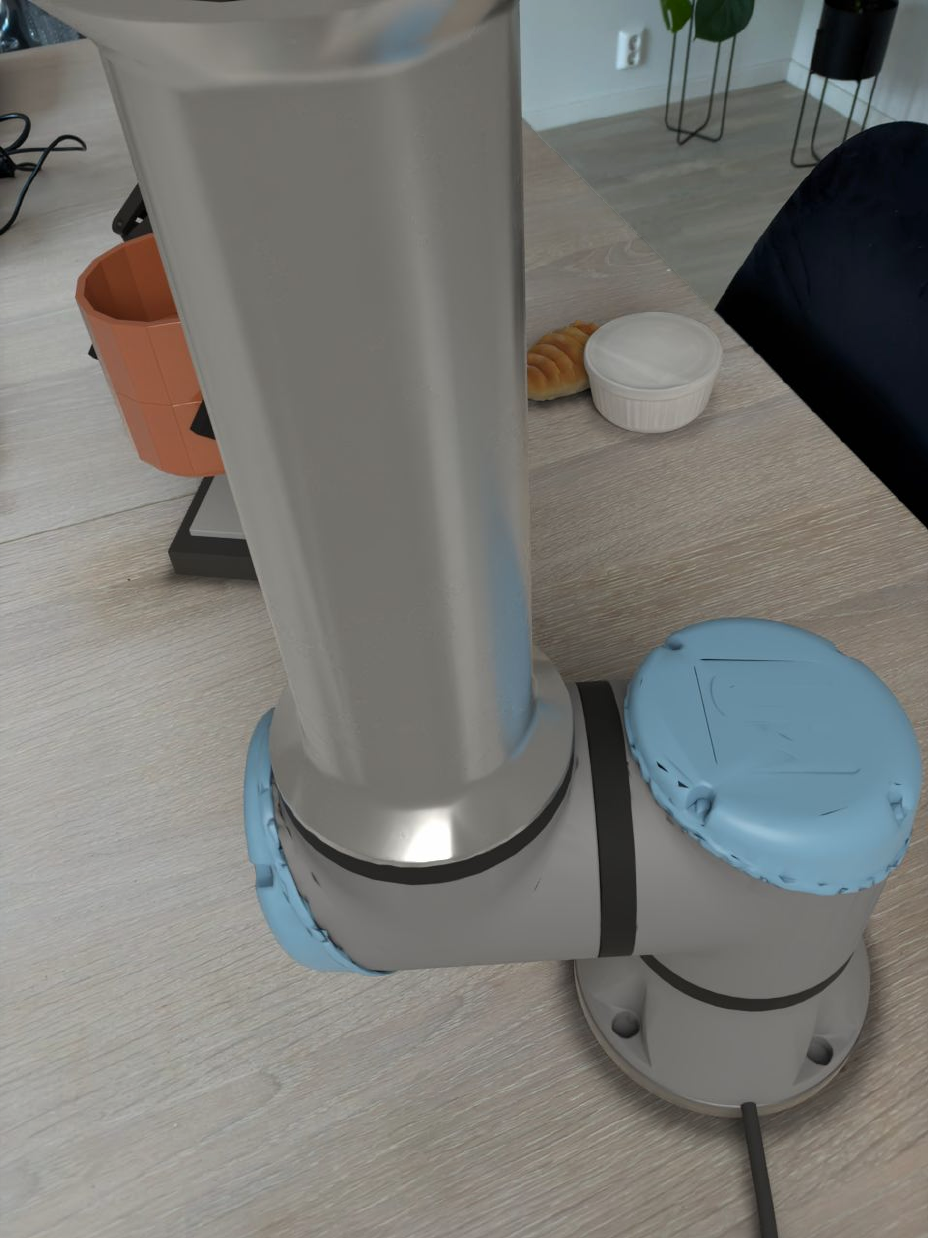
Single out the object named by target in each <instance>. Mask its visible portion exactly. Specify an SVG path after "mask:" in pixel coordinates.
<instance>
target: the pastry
mask: <svg viewBox="0 0 928 1238" xmlns="http://www.w3.org/2000/svg"><path fill="white" fill-rule="evenodd" d="M600 327H601V326H599V325H598V324H597V323H594V322H592V321H583V320H580V319H578V320H576V321H575V322H573V323H570V324H569V325H568V326H566V327H564V328H562V329H558V330H554V331H552V332H551V333H547V334H545V335H543V336H541V338H539V340H538V341H537V342H535V344H533V346H531V347H530V348H529V349H528V350H527V399H529V400H533V401H542V402H545V401H547V400H548V401H553V400H555V399H556V398H560V397H570V396H572V395H576V394H578V393H580V392H583V391H586V390H588V389H591V387H590V382H589V376H588V373H587V371H586V369H585V366H584V348H585V345H586V342H587V340H588V339H589V337H590V336H591V335H592V334H593V333H594V332H595V331H596V330H597V329H598V328H600Z"/></svg>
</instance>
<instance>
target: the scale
mask: <svg viewBox="0 0 928 1238" xmlns="http://www.w3.org/2000/svg"><path fill="white" fill-rule="evenodd" d="M167 555H169V556H168V557H169V559H170V562H171V564H172V568H173V570H174V573H175V575H182V576H192V577H193V576H194V577H206V578H207V577H209V578H218V579H219V578H222V579H234V580H245V581H258V578H257V574H256V571H255V568H254V564H253V561H252V558H251V554H250V551H249V548H248V544H247V541H246V538H245V534H244V531H243V528H242V524H241V521H240V518H239V514H238V511H237V508H236V504H235V501H234V498H233V494H232V491H231V488H230V485H229V481H228V478H227V475H226V473H225V474H221V475H216V476H209V477H202V480H201V481H200V483H199V486H198V488H197V489H196V492H195V494H194V496H193V498H192V500H191V503H190V505H189V507H188V509H187V510H186V513H185V515H184V517H183V519H182V521H181V523H180V525H179V527H178V529H177V531H176V534H175V536H174V538H173V540H172V542H171V544H170V546H169V548H168V549H167Z"/></svg>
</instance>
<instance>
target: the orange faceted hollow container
mask: <svg viewBox="0 0 928 1238" xmlns="http://www.w3.org/2000/svg"><path fill="white" fill-rule="evenodd" d="M75 287H76V288H75V296H74V299H75V301H76V304H77V307H78V310H79V312H80V315H81V317H82V320H83V323H84V327H85V328H86V331H87V333H88V336H89V339H90V342H91V345H92V344H93V347H94V350H95V352H96V355H97V358H98V360H97V361H98V362H99V366H100V368H101V371H102V374H103V376H104V379H105V382H106V384H107V386H108V389H109V392H110V395H111V397H112V400H113V403H114V405H115V408H116V411H117V413H118V417H119V419H120V421H121V425H122V427H123V429H124V431H125V435H126V438H127V439H128V442H129V445H130V446H131V448H132V449H133V451H134V452H135V453H136V456H137V457H138V458H139V460H141V461H142V462H144V463H146V464H148V465H149V466H152V467H154V468H155V469H157V470H159V471H161V472H163V473H166V474H169V475H172V476H176V477H177V476H178V477H183V478H204V477H209V476H216V475H221V474H225V473H226V471H225V468H224V465H223V461H222V458H221V455H220V451H219V448H218V445H217V441H216V440H214V439H210V438H207V437H203V436H200V435H197V434H195V433H194V432H193V431H191V430H190V427H191V424H192V422H193V420H194V418H195V416H196V413H197V411H198V409H199V407H200V404H201V402H202V400H203V395H202V392H201V388H200V385H199V382H198V379H197V375H196V372H195V369H194V365H193V362H192V359H191V355H190V352H189V349H188V345H187V342H186V339H185V336H184V332H183V329H182V326H181V322H180V319H179V316H178V312H177V309H176V306H175V303H174V299H173V296H172V293H171V289H170V286H169V283H168V279H167V276H166V273H165V269H164V266H163V263H162V260H161V256H160V253H159V250H158V246H157V243H156V240H155V236H154V233H149V234H146V235H143V236H140V237H137V238H135V239H132V240H129V241H126V242H124V241H123V242H121V243H118V244H117V245H115V246H113V247H112V248H110V249H109V250H107V251H105V252H103V253H102V254H100V255H99V256H97V257H95V258H94V259H92V261H90V263H89V264H88V266H87V267H86V268H85V269H84V270H83V272H81V274H80V275H79V276H78V278H77V280H76V286H75Z"/></svg>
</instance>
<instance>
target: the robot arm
mask: <svg viewBox="0 0 928 1238" xmlns="http://www.w3.org/2000/svg"><path fill="white" fill-rule="evenodd" d="M27 1H28V2H30V3H32V4H33V5H35V6H36V7H37V8H39V9H41V10H43V11H44V12H46V13H48V15H51V16H52V17H53V18H55V19H57V20H58V21H60V22H62V23H63V24H64V25H66V26H68V27H69V28H71V29H72V30H74V31H75V32H77V33H79V34H80V35H82V36H83V37H85V38H87V39H88V40H90V41H91V42H92V43H93V44H94V45H95V47H96V48H97V51H98V53H99V54H98V55H99V57H100V61H101V64H102V67H103V71H104V75H105V78H106V80H107V84H108V87H109V91H110V94H111V97H112V101H113V104H114V108H115V110H116V115H117V117H118V120H119V124H120V127H121V130H122V133H123V137H124V140H125V143H126V147H127V150H128V154H129V156H130V160H131V163H132V167H133V171H134V174H135V176H136V181H137V183H136V184H135V186H134V188H133V189H132V190H131V192H130V194H129V195H128V196H127V198H126V199H125V201H124V203H123V204H122V205H121V207H120V209H119V210H118V212H117V213H116V215H115V216H114V218H113V220H112V223H111V229H112V232H113V233H114V234H115V235H117V236H120V237H121V240H122V241H123V242H126V241H129V240H132V239H135V238H137V237H140V236H143V235H146V234H149V233H154V236H155V240H156V243H157V246H158V250H159V253H160V256H161V260H162V263H163V266H164V269H165V273H166V276H167V279H168V283H169V286H170V289H171V293H172V296H173V299H174V303H175V306H176V309H177V312H178V316H179V319H180V322H181V326H182V329H183V332H184V336H185V339H186V342H187V345H188V349H189V352H190V355H191V359H192V362H193V365H194V369H195V372H196V375H197V379H198V382H199V385H200V388H201V392H202V395H203V400H202V402H201V404H200V407H199V409H198V411H197V413H196V416H195V418H194V420H193V422H192V424H191V427H190V430H191V431H193V432H194V433H195V434H197V435H200V436H203V437H207V438H210V439H214V440H216V441H217V445H218V448H219V451H220V455H221V458H222V461H223V465H224V468H225V471H226V475H227V478H228V481H229V485H230V488H231V491H232V494H233V498H234V501H235V504H236V508H237V511H238V514H239V518H240V521H241V524H242V528H243V531H244V534H245V538H246V541H247V544H248V548H249V551H250V554H251V558H252V561H253V564H254V568H255V571H256V574H257V578H258V580H257V581H258V584H259V587H260V590H261V594H262V597H263V600H264V603H265V607H266V610H267V614H268V618H269V621H270V623H271V628H272V631H273V634H274V637H275V640H276V644H277V647H278V651H279V653H280V657H281V660H282V663H283V667H284V671H285V673H286V677H287V683H286V684H285V686H284V688H283V691H282V692H281V693H280V696H279V698H278V701H277V703H276V705H275V706H274V707H271V708H270V709H268V710H267V711H266V712H265V713H264V714H263V715H262V716H261V717H260V718H259V720H258V722H257V723H256V725H255V727H254V730H253V732H252V733H251V734H252V735H251V738H250V740H249V744H248V747H247V753H246V759H245V767H244V775H243V776H244V778H243V791H242V792H243V796H242V798H243V799H242V800H243V801H242V802H243V803H242V805H243V825H244V834H245V836H244V837H245V842H246V843H245V844H246V848H247V854H248V861H249V862H250V863H251V864H253V865H254V869H255V883H254V888H255V894H256V898H257V901H258V904H259V907H260V909H261V913H262V915H263V918H264V920H265V922H266V925H267V926H268V928H269V930H270V932H271V934H272V936H273V938H274V940H275V941H276V942H277V943H278V945H279V946H280V948H281V949H282V950H283V951H284V953H285V954H286V955H287V956H288V957H289V958H291V960H293V961H294V962H296V963H297V964H299V965H301V966H302V967H305V968H306V969H309V970H311V971H317V972H321V973H349V974H351V973H352V974H358V975H361V976H365V977H370V978H371V977H373V978H374V977H384V976H388V975H389V976H390V975H393V974H395V973H397V972H401V971H414V970H430V969H431V970H432V969H446V968H460V967H477V966H493V965H505V964H506V965H508V964H522V963H523V964H524V963H537V962H539V963H540V962H553V961H554V962H556V961H570V960H573V973H574V984H575V988H576V993H577V997H578V1001H579V1005H580V1007H581V1011H582V1014H583V1015H584V1019H585V1020H586V1022H587V1024H588V1026H589V1029H590V1031H591V1032H592V1034H593V1036H594V1037H595V1039H596V1041H597V1042H598V1044H599V1046H601V1048H602V1049H603V1051H604V1052H605V1053H606V1054H607V1056H608V1057H609V1058H610V1059H611V1060H612V1061H613V1062H614V1064H615V1065H616V1066H617V1067H618V1068H619V1069H620V1070H621V1071H622V1072H623V1073H625V1074H626V1076H628V1077H629V1078H630V1080H632V1081H634V1082H635V1083H636V1084H637V1085H639V1086H640V1087H642V1088H643V1089H644V1090H646V1091H648V1092H649V1093H651V1094H652V1095H654V1096H656V1097H658V1098H660V1099H661V1100H664V1101H665V1102H667V1103H670V1104H672V1105H674V1106H677V1107H680V1108H682V1109H684V1110H688V1111H692V1112H695V1113H698V1114H701V1115H707V1116H713V1117H721V1118H729V1119H730V1118H732V1119H734V1118H736V1119H737V1118H739V1119H740V1118H742V1123H743V1128H744V1129H743V1130H744V1135H745V1140H746V1147H747V1153H748V1159H749V1164H750V1171H751V1176H752V1177H751V1178H752V1183H753V1188H754V1194H755V1201H756V1207H757V1213H758V1220H759V1228H760V1236H761V1238H779V1232H778V1225H777V1219H776V1212H775V1206H774V1201H773V1200H774V1199H773V1194H772V1189H771V1183H770V1182H771V1181H770V1178H769V1171H768V1170H769V1169H768V1166H767V1161H766V1160H767V1158H766V1154H765V1148H764V1142H763V1137H762V1131H761V1125H760V1119H759V1117H762V1116H767V1115H771V1114H775V1113H779V1112H782V1111H784V1110H789V1109H790V1108H793V1107H795V1106H797V1105H799V1104H801V1103H803V1102H805V1101H807V1100H808V1099H811V1098H812V1097H814V1096H815V1095H816V1094H817V1093H818V1092H820V1091H821V1090H822V1089H823V1088H825V1087H826V1086H827V1085H828V1084H829V1083H830V1082H832V1080H833V1079H834V1078H835V1077H836V1076H837V1075H838V1074H839V1072H840V1071H841V1070H842V1069H843V1067H844V1066H845V1064H846V1062H847V1061H848V1059H849V1058H850V1056H851V1055H852V1052H853V1051H854V1049H855V1047H856V1045H857V1043H858V1042H859V1039H860V1036H861V1034H862V1032H863V1030H864V1026H865V1023H866V1020H867V1017H868V1012H869V1008H870V1000H871V968H870V960H869V955H868V950H867V945H866V942H865V938H864V932H865V930H866V927H867V925H868V923H869V921H870V919H871V917H872V914H873V912H874V910H875V908H876V907H877V903H878V901H879V900H880V897H881V895H882V893H883V890H884V888H885V886H886V884H887V881H888V880H889V877H890V876H891V873H892V872H893V871H894V870H896V869H897V868H898V867H899V866H900V864H901V863H902V861H903V858H904V857H905V855H906V853H907V851H908V849H909V847H910V844H911V841H912V836H913V830H914V822H915V817H916V813H917V810H918V806H919V802H920V798H921V794H922V788H923V780H924V779H923V776H924V771H923V769H924V768H923V767H924V766H923V758H922V752H921V748H920V743H919V740H918V736H917V734H916V731H915V728H914V726H913V723H912V721H911V719H910V718H909V716H908V714H907V712H906V709H905V708H904V707H903V705H902V704H901V702H900V701H899V699H898V698H897V696H896V695H895V694H894V692H893V691H892V690H891V689H890V687H889V686H888V685H887V683H885V681H884V680H883V679H882V678H881V677H879V675H878V674H877V673H876V672H874V671H873V670H872V669H871V668H870V667H869V666H868V665H866V664H865V663H864V662H863V661H862V660H860V659H856V658H853V657H850V656H848V655H846V654H844V653H843V652H841V651H840V650H838V648H837V645H836V644H835V643H834V642H833V641H832V640H830V639H827V638H825V637H823V636H821V635H819V634H817V633H814V632H813V631H811V630H807V629H804V628H801V627H800V626H796V625H793V624H790V623H784V622H781V621H776V620H772V619H768V618H767V619H766V618H758V617H748V616H747V617H744V616H733V617H732V616H730V617H729V616H728V617H718V618H712V619H711V618H710V619H707V620H703V621H699V622H694V623H691V624H689V625H686V626H683V627H682V628H680V629H678V630H676V631H673V632H671V633H670V634H669V635H668V636H667V638H666V640H665V642H664V643H663V644H662V646H656V647H653V648H651V649H650V650H649V651H648V652H647V653H646V655H645V656H644V658H643V659H642V660H641V662H639V663H638V664H637V668H636V671H635V672H634V673H632V674H631V678H620V679H607V680H606V679H604V680H603V679H601V680H587V681H574V682H573V681H572V682H564V679H563V677H562V675H561V674H560V673H559V671H558V669H557V668H556V666H555V664H554V663H553V662H552V661H551V659H550V658H549V657H548V656H547V655H546V654H545V653H544V652H543V651H542V650H541V649H540V648H539V647H538V645H536V644H535V643H534V642H533V613H532V612H533V607H532V564H531V563H532V562H531V561H532V559H531V555H532V554H531V553H532V552H531V551H532V550H531V511H530V510H531V507H530V504H531V503H530V460H529V456H530V455H529V408H528V407H529V405H528V403H529V401H528V398H527V352H528V350H527V311H526V310H527V309H526V305H527V304H526V263H525V262H526V259H525V258H526V257H525V256H526V255H525V251H526V250H525V208H524V207H525V206H524V204H525V203H524V201H525V200H524V160H523V159H524V157H523V155H524V153H523V152H524V151H523V109H522V108H523V107H522V106H523V105H522V103H523V101H522V57H521V56H522V54H521V52H522V51H521V6H520V5H521V3H520V1H521V0H27ZM138 219H140V220H141V221H140V222H139V221H137V220H138ZM87 355H88V356H90V357H91V358H92V359H93V360H97V361H99V360H98V358H97V355H96V352H95V350H94V347H93V344H92V343H91V345H90V347H89V349H88V351H87Z"/></svg>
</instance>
